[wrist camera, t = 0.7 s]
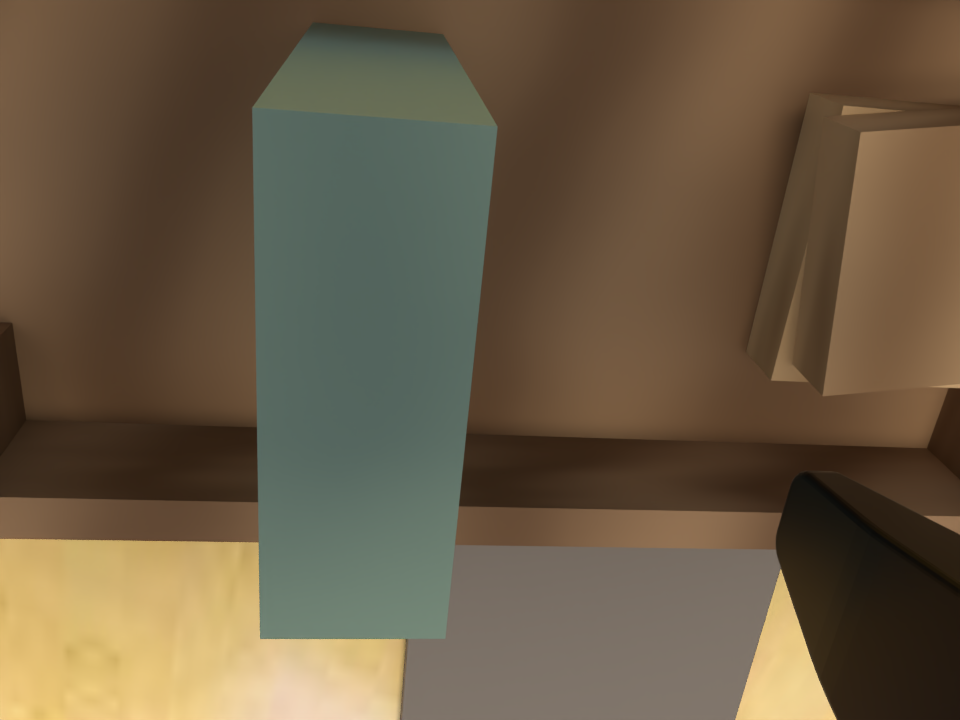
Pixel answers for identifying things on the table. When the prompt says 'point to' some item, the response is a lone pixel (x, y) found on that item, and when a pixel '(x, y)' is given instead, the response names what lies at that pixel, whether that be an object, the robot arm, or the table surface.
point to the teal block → (365, 328)
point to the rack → (506, 271)
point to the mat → (592, 634)
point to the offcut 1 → (801, 237)
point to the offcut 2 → (883, 255)
